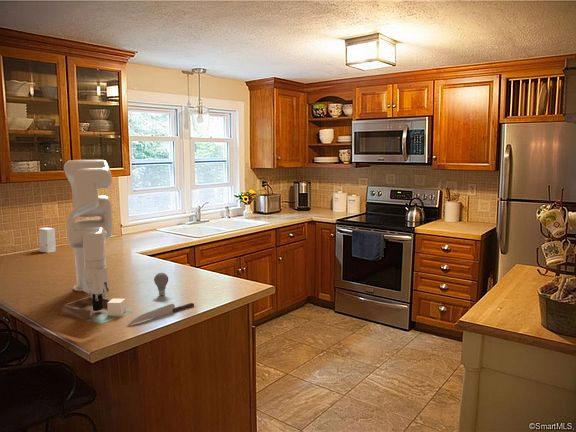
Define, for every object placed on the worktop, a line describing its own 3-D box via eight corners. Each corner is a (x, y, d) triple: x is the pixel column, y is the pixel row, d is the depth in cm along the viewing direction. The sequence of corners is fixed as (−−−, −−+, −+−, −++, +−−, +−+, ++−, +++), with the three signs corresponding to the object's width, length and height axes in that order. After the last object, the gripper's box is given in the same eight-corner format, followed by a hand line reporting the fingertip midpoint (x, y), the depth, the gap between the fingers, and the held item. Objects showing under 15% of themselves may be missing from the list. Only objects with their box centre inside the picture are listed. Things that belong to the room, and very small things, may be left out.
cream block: (113, 310, 183) (112, 298, 182) (126, 311, 183) (125, 298, 182) (108, 315, 178) (107, 302, 177) (121, 315, 178) (120, 302, 177)
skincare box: (39, 251, 295) (37, 228, 293) (48, 250, 301) (46, 226, 299) (48, 253, 292) (46, 229, 289) (56, 251, 297) (55, 227, 295)
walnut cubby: (95, 304, 195) (94, 294, 194) (135, 313, 183) (134, 303, 183) (60, 315, 181) (59, 305, 180) (100, 326, 169) (100, 316, 169)
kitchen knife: (192, 297, 192) (124, 315, 169) (193, 298, 191) (125, 316, 168) (192, 308, 192) (124, 327, 170) (194, 308, 191) (126, 327, 169)
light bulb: (170, 293, 209) (169, 271, 208) (167, 297, 203) (166, 274, 202) (156, 293, 209) (155, 271, 207) (153, 297, 203) (152, 274, 201)
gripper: (73, 263, 180) (76, 309, 182) (100, 268, 172) (103, 316, 175) (90, 259, 186) (93, 304, 189) (116, 263, 179) (119, 310, 181)
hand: (98, 309), depth 182 cm, fingers closed
